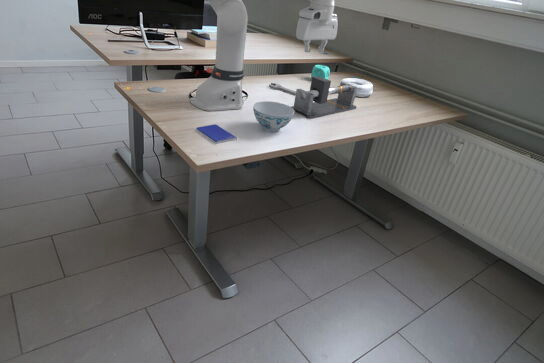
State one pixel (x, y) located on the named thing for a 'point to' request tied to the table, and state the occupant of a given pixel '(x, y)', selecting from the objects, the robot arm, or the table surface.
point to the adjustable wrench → (281, 88)
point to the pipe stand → (337, 105)
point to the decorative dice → (320, 71)
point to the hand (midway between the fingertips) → (314, 51)
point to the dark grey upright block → (321, 85)
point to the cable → (360, 86)
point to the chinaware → (272, 115)
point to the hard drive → (216, 134)
